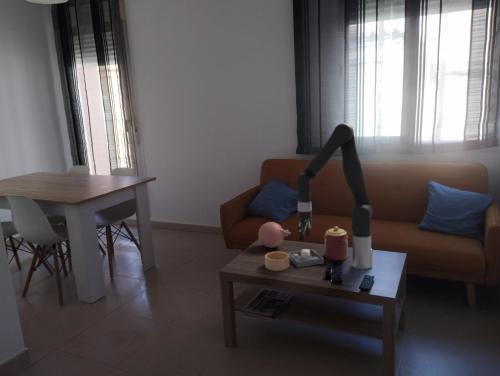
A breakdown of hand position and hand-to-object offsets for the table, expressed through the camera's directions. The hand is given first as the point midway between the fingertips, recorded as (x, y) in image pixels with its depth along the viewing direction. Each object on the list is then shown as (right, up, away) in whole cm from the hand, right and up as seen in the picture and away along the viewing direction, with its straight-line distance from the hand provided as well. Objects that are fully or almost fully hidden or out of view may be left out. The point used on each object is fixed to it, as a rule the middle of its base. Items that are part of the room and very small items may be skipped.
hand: (304, 238), depth 224 cm
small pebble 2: (+6, -12, -1) cm, 14 cm away
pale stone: (+1, -12, +2) cm, 12 cm away
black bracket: (+9, -18, -19) cm, 28 cm away
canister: (+18, -11, +6) cm, 22 cm away
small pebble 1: (-4, -12, +5) cm, 14 cm away
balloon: (-15, -9, +25) cm, 30 cm away
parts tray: (+1, -13, +2) cm, 13 cm away
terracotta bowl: (-15, -15, -4) cm, 21 cm away
